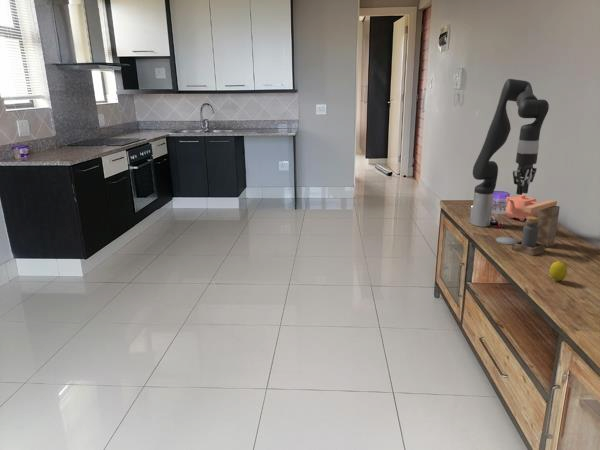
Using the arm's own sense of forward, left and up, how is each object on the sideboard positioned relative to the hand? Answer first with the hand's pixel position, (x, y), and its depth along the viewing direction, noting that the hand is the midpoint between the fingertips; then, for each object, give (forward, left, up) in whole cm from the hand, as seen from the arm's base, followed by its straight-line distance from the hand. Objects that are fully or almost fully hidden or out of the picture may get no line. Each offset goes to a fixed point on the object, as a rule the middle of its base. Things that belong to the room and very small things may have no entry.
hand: (521, 193), depth 181 cm
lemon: (+24, -12, -27) cm, 38 cm away
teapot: (-30, +55, -27) cm, 68 cm away
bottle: (0, +11, -27) cm, 29 cm away
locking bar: (0, +17, -9) cm, 19 cm away
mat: (-12, +15, -27) cm, 33 cm away
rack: (0, +17, -27) cm, 32 cm away
